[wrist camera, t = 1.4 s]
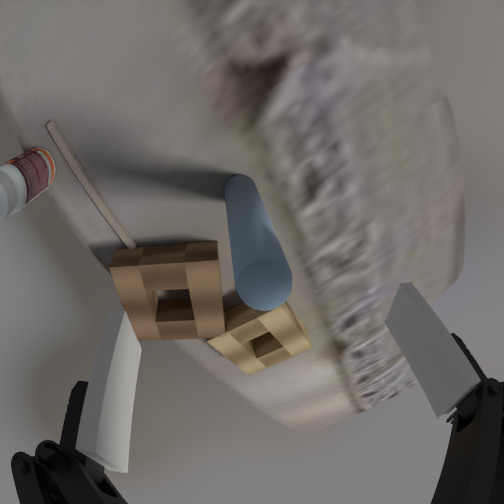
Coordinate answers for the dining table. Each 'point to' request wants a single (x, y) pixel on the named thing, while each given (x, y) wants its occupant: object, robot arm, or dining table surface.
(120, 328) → the robot arm
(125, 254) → the square wooden ring
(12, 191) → the pill bottle
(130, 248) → the thin wooden stick
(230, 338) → the light wood square frame
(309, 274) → the dining table surface
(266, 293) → the blue-grey peg
